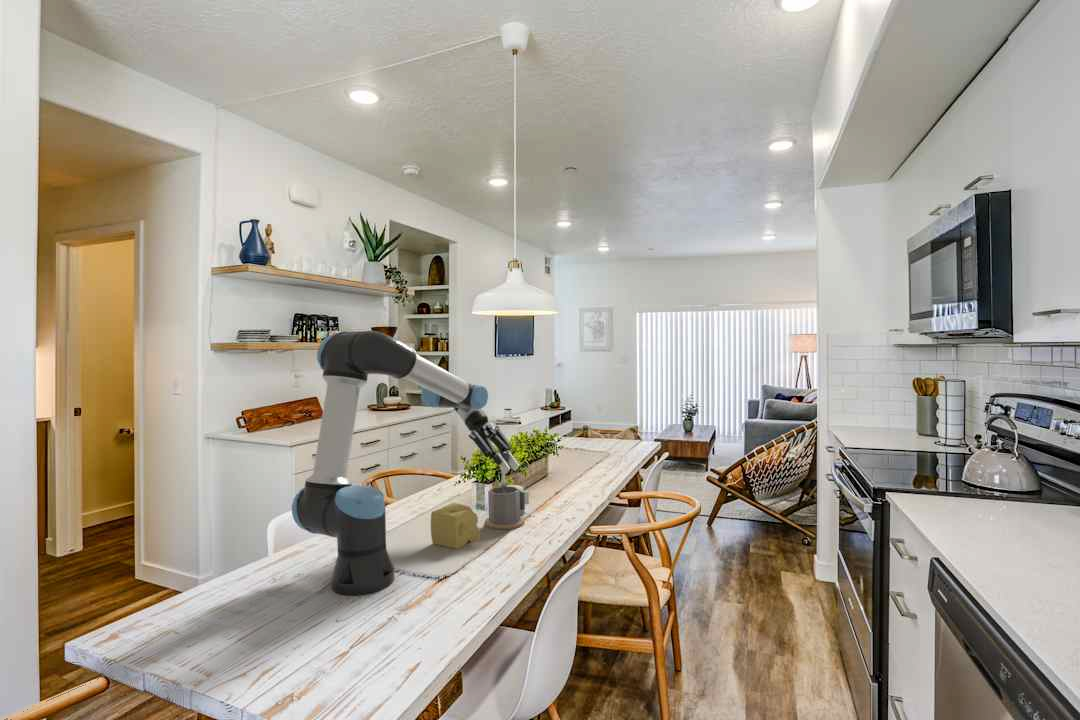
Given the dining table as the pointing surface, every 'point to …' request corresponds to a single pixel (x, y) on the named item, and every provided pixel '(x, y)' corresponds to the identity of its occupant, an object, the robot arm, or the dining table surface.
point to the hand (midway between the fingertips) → (512, 469)
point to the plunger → (505, 457)
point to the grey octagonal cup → (505, 508)
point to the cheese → (454, 526)
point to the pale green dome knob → (526, 495)
